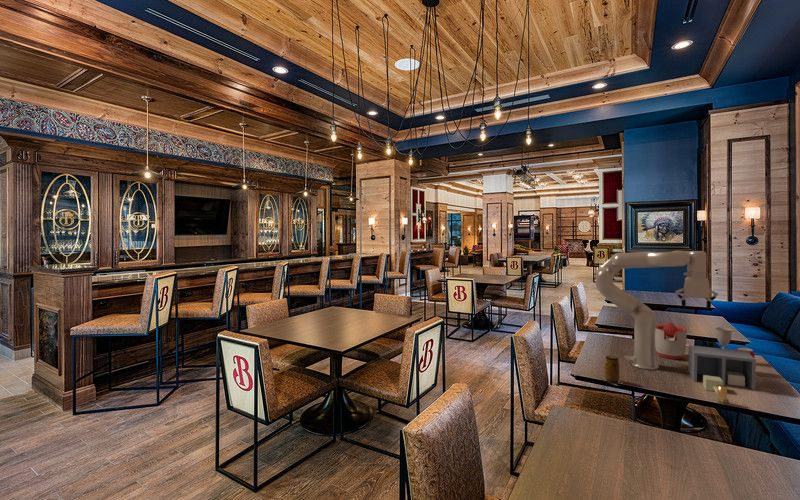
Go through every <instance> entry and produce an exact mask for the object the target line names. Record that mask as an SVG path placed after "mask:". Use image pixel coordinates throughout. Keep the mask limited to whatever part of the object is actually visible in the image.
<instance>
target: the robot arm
mask: <svg viewBox="0 0 800 500" xmlns="http://www.w3.org/2000/svg"><path fill="white" fill-rule="evenodd" d="M686 265H687V267H686V268H687V269H686V270H687V271H686V272H683V276H686V277H685V278H684V283H683V284H684V285H683V288H679V289H677V290H675V292H674V293H675V294H676V296H677V297H678V298H679V299H681V306H682V308H683V309H686V303H687V302H686V299H687V298H697V299H698V298H700V299H701V298H702V299H706V310H710V309H711V308H712V302H713V301H714V300H715V299H717V297H718V295H719V293H718V292H717V291H713V290H711V288H710V282H709V277H707V253H706V252H705V251H704V250H690V251H686V250H685V251H684V250H678V249H677V250H673V251H668V252H667V251H662V252H661V251H660V252H655V251H637V252H635V251H634V252H633V251H632V252H616V253H613V255H611V257H610V258H609V259H607V260H606V261H605V262H604V263H603V264H602V265H600V267H599V268H598V269H596V272H595V285H596V288H597V291H598V292H599V293H600V295H602V296H603V297H605V299H607V300H608V301H609V302H611V304H613V305H615V307H617V308H618V309H619V310H620V311H622V312H625V313H626V314H628V315H629V316H631V317H632V318H633V319H634V333H633V335H634V336H633V337H634V340H633V341H634V343H633V344H634V346H633V347H634V348H633V349H634V350H633V355H631V356H629V355H624V360H627V361H629V362H630V364H632V365H631V366H633V367H635V368H638V369H643V370H649V371H650V370H651V371H653V370H658V369H659V364H657V363H656V348H655V331H656V325H657V316H656V313H655V312H654V311H653V310H652V309H651V308H650V307H649V306H647V305H646V304H645V303H644V302H643V301H641V300H640V299H638V298H636V297H635V296H633V295H632V294H630V293H628V292H626V291H623V290H622V289H621V288H620V287H619V286H617V285H616V284H614V280H613V279H614V276H615V275H617V274H618V273H619V272H620V271H621V270H622V269H637V268H639V269H641V268H660V267H661V268H662V267H664V268H665V267H666V268H667V267H684V266H686ZM682 292H683V295H682V294H680V293H682ZM710 294H713V295H712V296H711V297H710Z"/></svg>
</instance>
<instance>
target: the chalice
mask: <svg viewBox="0 0 800 500" xmlns="http://www.w3.org/2000/svg"><path fill="white" fill-rule="evenodd" d="M715 330H716V339H717V341H718V343H719V345H721V346H722V347H721V349H726V346H728V345H729V343H730V342H731V340H732V332H733V329H732V328H727V327H718V326H717V327H715Z"/></svg>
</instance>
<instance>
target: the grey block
mask: <svg viewBox="0 0 800 500" xmlns="http://www.w3.org/2000/svg"><path fill="white" fill-rule="evenodd" d="M725 383H726V384H727V385H731V386H737V387H744V388H745V386H746V383H745V376H744V375H743V374H742V373H741V372H733V371H725Z"/></svg>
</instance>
